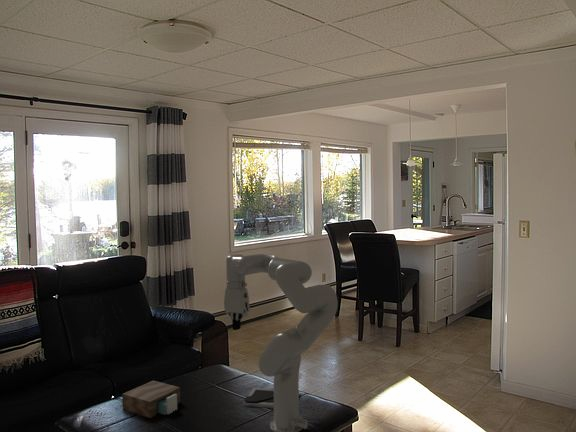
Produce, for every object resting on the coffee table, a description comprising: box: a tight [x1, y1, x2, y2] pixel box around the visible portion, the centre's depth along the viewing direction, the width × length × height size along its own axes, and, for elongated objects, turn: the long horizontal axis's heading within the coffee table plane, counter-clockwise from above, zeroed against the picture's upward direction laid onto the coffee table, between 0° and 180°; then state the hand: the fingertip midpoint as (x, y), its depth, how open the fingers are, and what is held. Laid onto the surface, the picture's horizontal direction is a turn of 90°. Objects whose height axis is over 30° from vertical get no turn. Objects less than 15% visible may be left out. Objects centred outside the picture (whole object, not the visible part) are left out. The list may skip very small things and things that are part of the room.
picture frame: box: [243, 387, 274, 409], centre depth 210 cm, size 16×3×21 cm
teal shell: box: [156, 394, 178, 416], centre depth 203 cm, size 15×7×6 cm, turn 59°
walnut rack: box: [121, 380, 181, 419], centre depth 205 cm, size 16×17×6 cm
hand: (236, 329), depth 201 cm, fingers closed
